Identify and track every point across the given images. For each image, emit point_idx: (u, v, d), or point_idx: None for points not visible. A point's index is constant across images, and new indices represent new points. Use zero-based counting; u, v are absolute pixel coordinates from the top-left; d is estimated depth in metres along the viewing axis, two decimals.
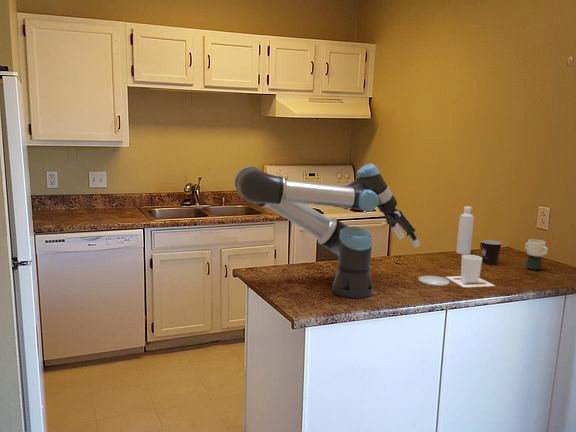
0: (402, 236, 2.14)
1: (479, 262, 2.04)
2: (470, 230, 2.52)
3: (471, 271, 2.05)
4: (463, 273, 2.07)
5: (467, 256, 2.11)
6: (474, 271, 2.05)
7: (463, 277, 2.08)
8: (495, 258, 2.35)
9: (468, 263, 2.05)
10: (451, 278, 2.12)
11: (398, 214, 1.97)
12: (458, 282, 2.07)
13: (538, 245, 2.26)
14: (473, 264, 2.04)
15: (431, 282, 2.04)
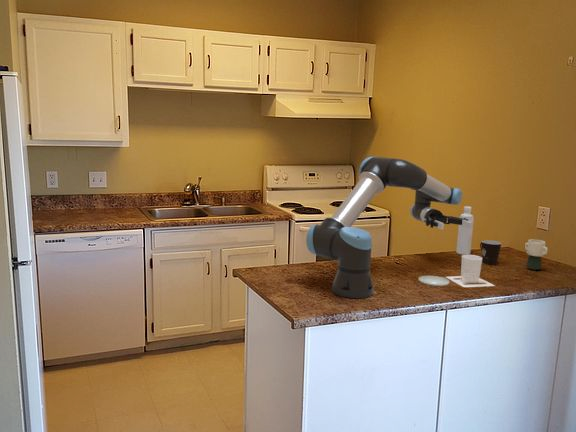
0: None
1: (479, 262, 2.04)
2: (470, 230, 2.52)
3: (471, 271, 2.05)
4: (463, 273, 2.07)
5: (467, 256, 2.11)
6: (474, 271, 2.05)
7: (463, 277, 2.08)
8: (495, 258, 2.35)
9: (468, 263, 2.05)
10: (451, 278, 2.12)
11: None
12: (458, 282, 2.07)
13: (538, 245, 2.26)
14: (473, 264, 2.04)
15: (431, 282, 2.04)
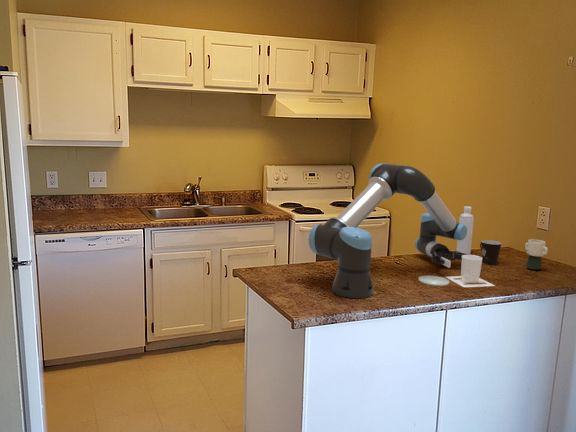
0: None
1: (479, 262, 2.04)
2: (470, 230, 2.52)
3: (471, 271, 2.05)
4: (463, 273, 2.07)
5: (467, 256, 2.11)
6: (474, 271, 2.05)
7: (463, 277, 2.08)
8: (495, 258, 2.35)
9: (468, 263, 2.05)
10: (451, 278, 2.12)
11: None
12: (458, 282, 2.07)
13: (538, 245, 2.26)
14: (473, 264, 2.04)
15: (431, 282, 2.04)
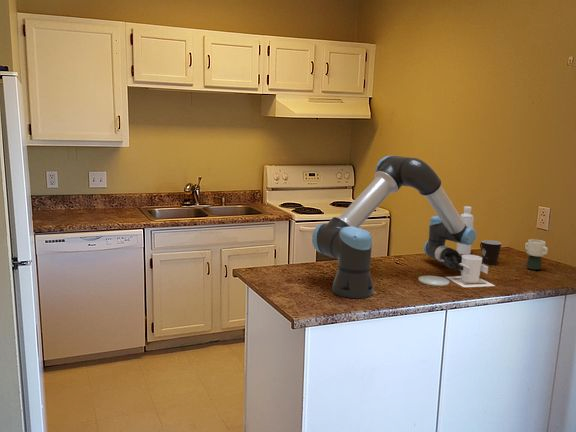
0: None
1: (479, 262, 2.04)
2: None
3: (471, 271, 2.05)
4: (463, 273, 2.07)
5: (467, 256, 2.11)
6: (474, 271, 2.05)
7: (463, 277, 2.08)
8: (495, 258, 2.35)
9: (468, 263, 2.05)
10: (451, 278, 2.12)
11: None
12: (458, 282, 2.07)
13: (538, 245, 2.26)
14: (473, 264, 2.04)
15: (431, 282, 2.04)
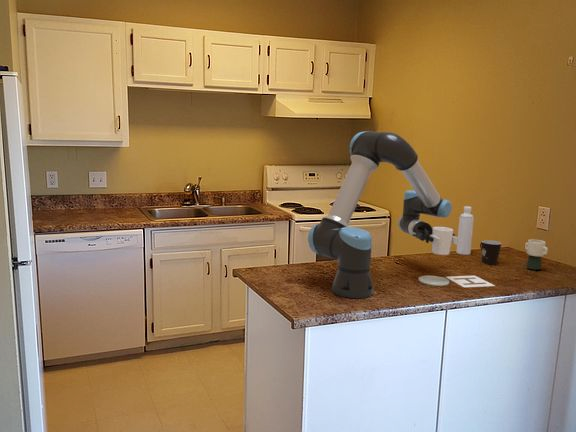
0: None
1: (449, 233, 2.01)
2: (470, 230, 2.52)
3: (442, 242, 2.01)
4: (434, 245, 2.04)
5: (438, 228, 2.08)
6: (444, 243, 2.01)
7: (434, 249, 2.04)
8: (495, 258, 2.35)
9: (438, 234, 2.01)
10: (451, 278, 2.12)
11: None
12: (458, 282, 2.07)
13: (538, 245, 2.26)
14: (443, 235, 2.00)
15: (431, 282, 2.04)
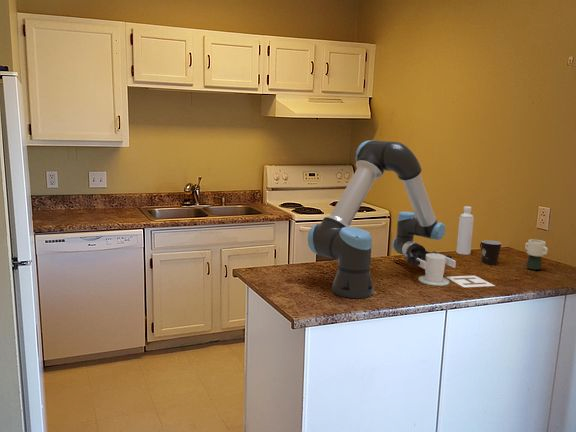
0: None
1: (442, 261, 2.03)
2: (470, 230, 2.52)
3: (435, 269, 2.03)
4: (427, 272, 2.06)
5: (431, 255, 2.09)
6: (437, 270, 2.03)
7: (427, 276, 2.06)
8: (495, 258, 2.35)
9: (431, 262, 2.03)
10: (451, 278, 2.12)
11: None
12: (458, 282, 2.07)
13: (538, 245, 2.26)
14: (436, 263, 2.02)
15: (431, 282, 2.04)
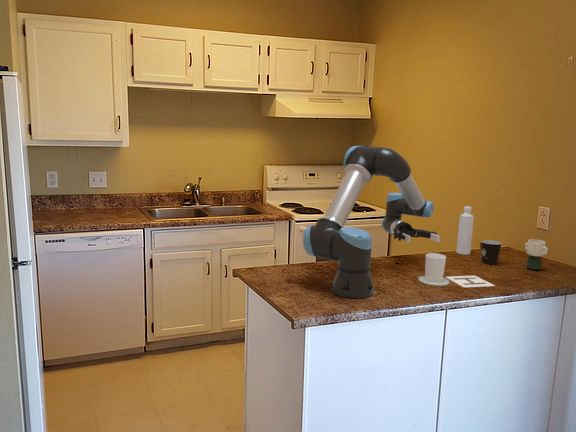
0: None
1: (442, 261, 2.03)
2: (470, 230, 2.52)
3: (435, 269, 2.03)
4: (427, 272, 2.06)
5: (432, 255, 2.09)
6: (437, 270, 2.03)
7: (427, 276, 2.06)
8: (495, 258, 2.35)
9: (431, 262, 2.03)
10: (451, 278, 2.12)
11: None
12: (458, 282, 2.07)
13: (538, 245, 2.26)
14: (436, 263, 2.02)
15: (431, 282, 2.04)
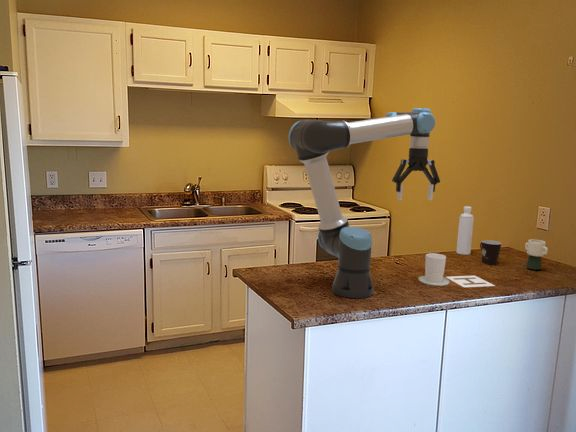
0: None
1: (442, 261, 2.03)
2: (470, 230, 2.52)
3: (435, 269, 2.03)
4: (427, 272, 2.06)
5: (432, 255, 2.09)
6: (437, 270, 2.03)
7: (427, 276, 2.06)
8: (495, 258, 2.35)
9: (431, 262, 2.03)
10: (451, 278, 2.12)
11: None
12: (458, 282, 2.07)
13: (538, 245, 2.26)
14: (436, 263, 2.02)
15: (431, 282, 2.04)
